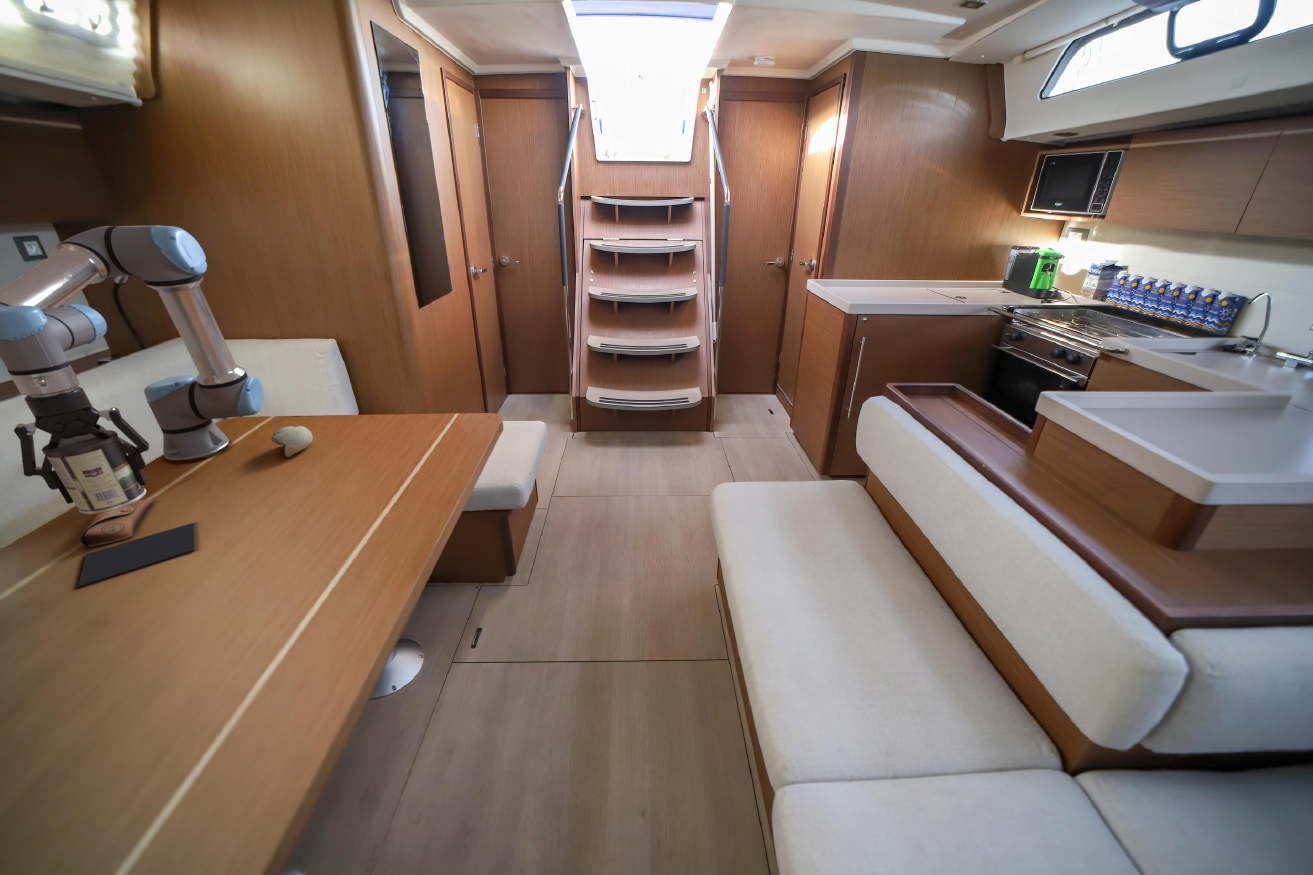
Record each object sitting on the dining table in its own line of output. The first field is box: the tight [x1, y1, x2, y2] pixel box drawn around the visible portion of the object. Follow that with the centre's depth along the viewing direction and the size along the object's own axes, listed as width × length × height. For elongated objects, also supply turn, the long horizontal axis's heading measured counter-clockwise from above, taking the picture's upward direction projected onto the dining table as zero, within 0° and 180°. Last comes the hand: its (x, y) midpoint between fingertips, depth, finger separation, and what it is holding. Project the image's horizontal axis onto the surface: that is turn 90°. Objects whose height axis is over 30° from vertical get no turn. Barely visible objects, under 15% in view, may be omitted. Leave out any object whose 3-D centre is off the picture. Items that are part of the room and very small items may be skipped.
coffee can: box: [41, 429, 147, 515], centre depth 102 cm, size 10×10×14 cm
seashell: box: [271, 425, 314, 458], centre depth 154 cm, size 13×8×10 cm
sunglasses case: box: [80, 499, 154, 548], centre depth 119 cm, size 18×7×7 cm
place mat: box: [77, 522, 196, 588], centre depth 110 cm, size 13×18×1 cm
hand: (108, 491), depth 104 cm, fingers closed on coffee can, 10 cm apart
